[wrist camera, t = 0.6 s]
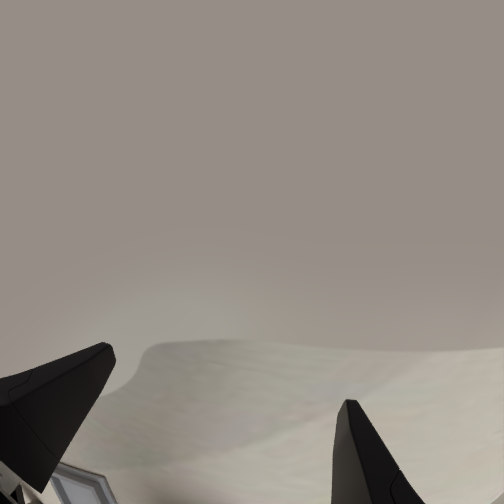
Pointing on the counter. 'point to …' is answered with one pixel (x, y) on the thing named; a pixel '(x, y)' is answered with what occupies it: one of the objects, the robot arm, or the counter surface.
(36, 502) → the metal cylinder
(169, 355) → the counter surface
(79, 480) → the holder
